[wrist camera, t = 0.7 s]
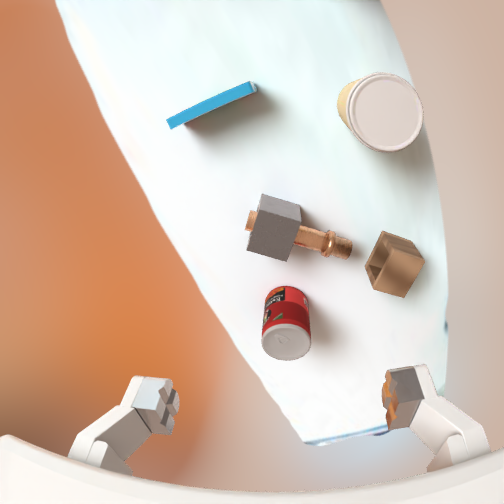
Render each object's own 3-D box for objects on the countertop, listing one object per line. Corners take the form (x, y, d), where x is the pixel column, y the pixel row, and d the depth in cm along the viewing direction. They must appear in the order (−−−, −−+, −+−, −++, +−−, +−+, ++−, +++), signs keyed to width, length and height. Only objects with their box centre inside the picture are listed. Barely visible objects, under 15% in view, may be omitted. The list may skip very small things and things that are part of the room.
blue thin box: (183, 124, 44) (169, 130, 39) (178, 115, 44) (165, 120, 38) (257, 91, 41) (254, 91, 36) (253, 82, 41) (249, 81, 35)
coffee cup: (404, 103, 40) (439, 111, 29) (368, 149, 44) (394, 170, 33) (355, 62, 38) (379, 55, 27) (318, 110, 42) (330, 118, 31)
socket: (382, 230, 50) (394, 250, 44) (411, 241, 50) (425, 261, 44) (364, 266, 53) (373, 289, 47) (393, 275, 54) (403, 297, 48)
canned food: (277, 277, 56) (276, 319, 46) (316, 296, 57) (321, 338, 48) (257, 307, 59) (252, 349, 50) (294, 323, 61) (294, 366, 51)
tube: (252, 202, 48) (250, 213, 44) (350, 233, 49) (355, 245, 45) (245, 226, 50) (242, 237, 46) (341, 254, 51) (345, 267, 47)
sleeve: (261, 193, 49) (259, 209, 43) (299, 205, 49) (301, 221, 43) (250, 231, 52) (246, 250, 46) (286, 241, 52) (286, 261, 47)
